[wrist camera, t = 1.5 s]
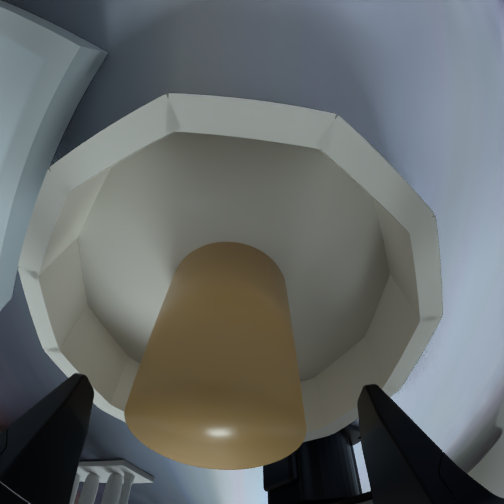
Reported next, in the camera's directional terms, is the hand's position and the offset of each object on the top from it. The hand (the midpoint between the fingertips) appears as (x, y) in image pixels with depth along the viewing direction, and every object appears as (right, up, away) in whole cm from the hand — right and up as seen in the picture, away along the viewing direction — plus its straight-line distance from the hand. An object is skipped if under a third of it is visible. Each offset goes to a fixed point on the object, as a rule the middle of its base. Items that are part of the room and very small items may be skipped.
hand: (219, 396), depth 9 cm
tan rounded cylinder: (0, +3, +5) cm, 6 cm away
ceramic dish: (0, +3, +5) cm, 6 cm away
